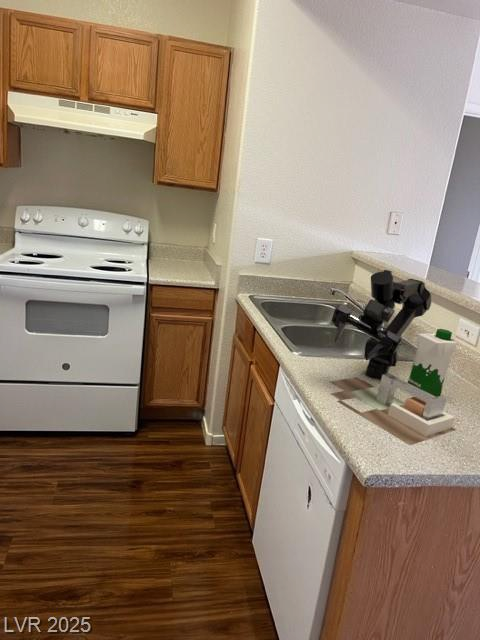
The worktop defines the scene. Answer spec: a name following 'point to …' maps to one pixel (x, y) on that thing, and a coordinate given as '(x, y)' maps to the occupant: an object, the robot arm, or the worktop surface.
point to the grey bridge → (390, 383)
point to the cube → (415, 406)
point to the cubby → (421, 421)
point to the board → (379, 410)
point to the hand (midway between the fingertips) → (350, 349)
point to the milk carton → (432, 361)
